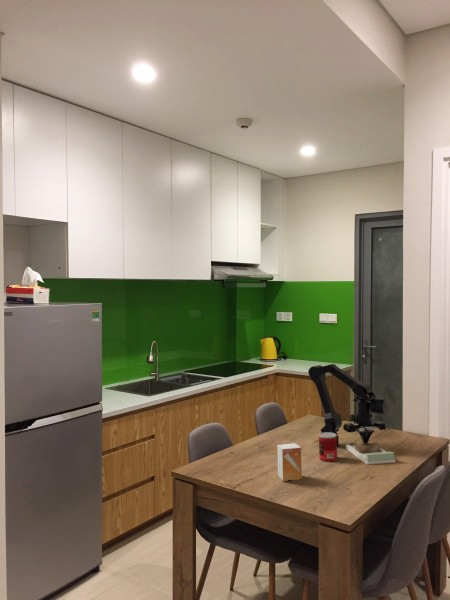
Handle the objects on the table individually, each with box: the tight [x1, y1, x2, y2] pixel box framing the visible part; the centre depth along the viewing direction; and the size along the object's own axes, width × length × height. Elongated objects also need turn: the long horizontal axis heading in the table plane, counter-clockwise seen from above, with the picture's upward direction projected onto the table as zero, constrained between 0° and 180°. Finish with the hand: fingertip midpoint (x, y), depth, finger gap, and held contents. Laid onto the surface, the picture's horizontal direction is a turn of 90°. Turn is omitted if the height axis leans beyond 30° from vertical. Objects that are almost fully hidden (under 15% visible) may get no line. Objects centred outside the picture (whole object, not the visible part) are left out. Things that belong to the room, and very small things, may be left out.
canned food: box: [318, 432, 338, 463], centre depth 225 cm, size 8×8×11 cm
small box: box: [276, 443, 303, 482], centre depth 203 cm, size 8×6×13 cm
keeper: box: [354, 442, 381, 453], centre depth 231 cm, size 10×4×3 cm, turn 98°
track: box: [345, 441, 396, 465], centre depth 230 cm, size 13×24×4 cm, turn 8°
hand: (365, 445), depth 234 cm, fingers closed
